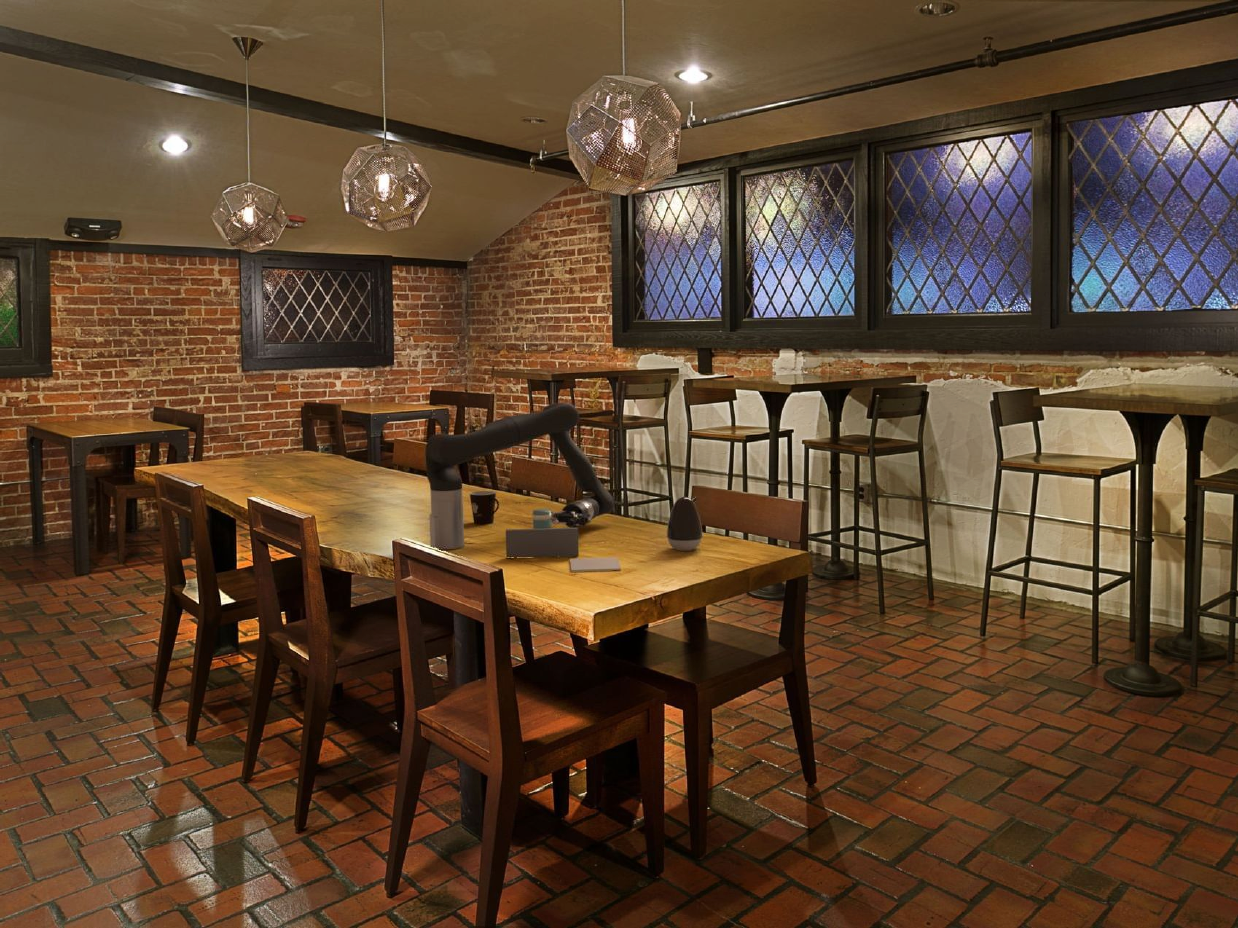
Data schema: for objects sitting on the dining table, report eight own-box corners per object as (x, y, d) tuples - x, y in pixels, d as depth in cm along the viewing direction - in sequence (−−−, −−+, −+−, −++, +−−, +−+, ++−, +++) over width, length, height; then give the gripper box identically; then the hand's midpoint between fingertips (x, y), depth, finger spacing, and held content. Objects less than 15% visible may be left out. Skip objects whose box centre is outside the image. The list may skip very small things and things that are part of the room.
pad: (571, 572, 259) (571, 569, 259) (570, 560, 272) (570, 558, 272) (621, 570, 260) (621, 568, 260) (617, 559, 273) (617, 557, 273)
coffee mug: (468, 521, 331) (467, 491, 330) (493, 519, 334) (492, 490, 333) (475, 527, 321) (474, 497, 319) (501, 525, 324) (500, 495, 322)
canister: (536, 554, 280) (536, 512, 279) (530, 550, 285) (529, 509, 283) (554, 552, 282) (554, 511, 281) (548, 549, 287) (547, 508, 286)
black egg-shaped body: (710, 548, 285) (710, 496, 283) (687, 554, 278) (687, 501, 276) (682, 543, 292) (681, 492, 290) (659, 549, 284) (659, 497, 282)
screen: (506, 558, 275) (505, 530, 274) (506, 557, 277) (505, 529, 276) (578, 556, 277) (578, 528, 276) (578, 555, 278) (577, 527, 277)
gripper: (556, 500, 309) (533, 509, 294) (599, 502, 304) (578, 511, 289) (557, 524, 310) (534, 533, 295) (599, 526, 305) (578, 536, 290)
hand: (556, 522), depth 292 cm, fingers open, 8 cm apart
